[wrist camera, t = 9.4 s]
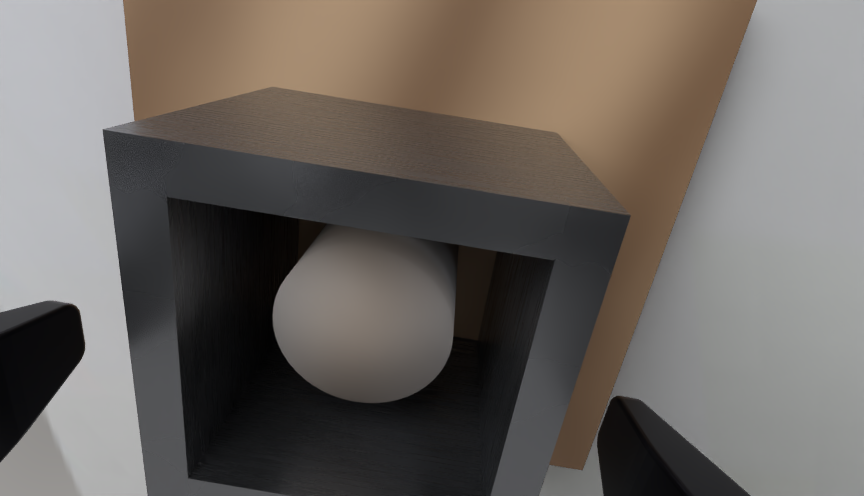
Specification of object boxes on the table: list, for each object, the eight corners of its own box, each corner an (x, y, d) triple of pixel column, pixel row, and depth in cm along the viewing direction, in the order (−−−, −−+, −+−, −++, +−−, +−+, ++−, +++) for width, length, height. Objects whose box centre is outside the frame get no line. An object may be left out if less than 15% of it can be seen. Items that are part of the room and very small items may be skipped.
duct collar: (557, 132, 12) (631, 214, 6) (499, 366, 15) (515, 564, 9) (272, 86, 12) (103, 129, 6) (268, 328, 15) (148, 502, 9)
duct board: (732, -4, 12) (948, -37, 6) (575, 442, 17) (620, 620, 12) (146, -98, 12) (-119, -207, 6) (180, 375, 17) (54, 522, 12)
